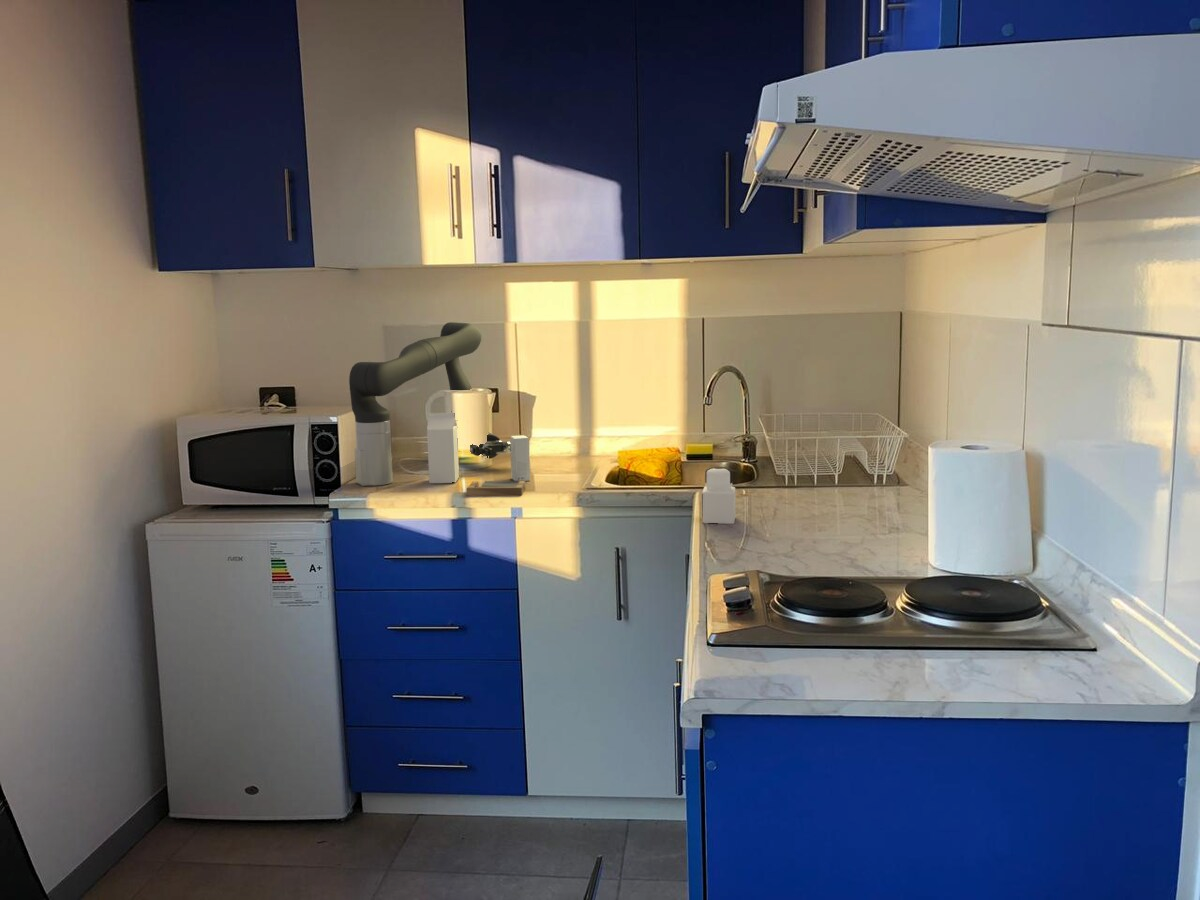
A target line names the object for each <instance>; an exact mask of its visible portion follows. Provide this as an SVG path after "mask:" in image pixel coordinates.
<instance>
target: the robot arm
mask: <svg viewBox="0 0 1200 900" xmlns="http://www.w3.org/2000/svg"><path fill="white" fill-rule="evenodd" d="M481 342H482V333H481V331H480V328H478V327H477V325H474V324H473V323H467V322H455V321H452V322H447V323H445V324H443V326H442V328H441V331H440V335H439V336H435V337H427V338H423V339H420V340H417V341H414V342H412V343H410V344H408V345H406V346H405V347H404V348H402V349H401V351H400V353H399V355H398V357H397V358H394V359H391V360H388V361H383V362H382V361H380V362H379V361H359V362H356V363H354V365H353V366H352V367H351V369H350V372H349V379H348V380H349V381H348V382H349V392H350V393H349V395H350V401H351V402H350V403H351V409H352V412H353V415H354V421H355V441H356V443H355V444H356V448H354V458H355V459H354V461H355V479H356V480H355V481H356V483H357V484H358V485H360V486H361V487H363V486H366V487H367V486H383V485H387V484H391V483H393V476H394V474H393V461H392V456H393V455H392V439H391V438H392V437H391V421H390V419H391V418H390V417H391V416H390V415H391V414H390V411H389V409H388V408H386V407H384V406H382V405H381V404H380V403H379V402H378V401H377V398H376V397H383V396H386V395H388V394H390V393H391V392H393V391H395V390H396V389H398V388H399V387H400V386H402V385H403V384H404V383H405V384H406V382H409V381H411V380H413V379H416V378H417V377H420V376H421V375H424V374H426V373H429V372H430V371H433V370H434V369H436V368H438V367H441V366H443V365H444V366H445V371H446V374H447V379H448V385H449V391H450V390H470V389H472V390H473V388H472V386H471V384H470V382H469V380H468V378H467V376H466V374H465V372H464V371H463V368H462V366H461V362H460V357H464V356H466V355H470V354H473V353H474V352H476V351H477V350H478V348H479V347H480V345H481ZM488 433H489V434H488V435H487V442H486V443H485V444H480V445H479V447H478V446H477V445H473V444H472V445H470V452H471V453H470V452H469V453H470V454H472V455H474V456H476V457H480V456H479V455H480V454H482V455H483V456H487V458H488V456H489V459H488V460H490V459H494V458H495V457H497V456H498V455H500V454H503V455H504V454H505V455H506V454H507V455H508V454H511V441H502V440H501V439H500V438H499V436H498V435H496V434H495V433H491V432H488Z"/></svg>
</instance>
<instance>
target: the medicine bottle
mask: <svg viewBox="0 0 1200 900" xmlns="http://www.w3.org/2000/svg"><path fill="white" fill-rule="evenodd" d="M704 472H705V473H704V475H705V476H704V478H705V479H704V480H705V481H704V483H705V485H704V486H703V490H702V491H701V523H702V522H704V523H703V524H708V523H718V525H719V524H721V525H734V524H735V521H736V487H735V486H733V470H732V469H731V468H729V467H726V466H712V467H709V468H707V469H706V470H705V471H704Z"/></svg>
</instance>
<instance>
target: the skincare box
mask: <svg viewBox="0 0 1200 900" xmlns="http://www.w3.org/2000/svg"><path fill="white" fill-rule="evenodd" d="M509 438H510V441H511V452H510V471H511V472H510V473H511V474H510V476H511V477H510V478H511V479H512V481H525V482H526V481H527V482H528V481H531V465H530V464H531V462H530V459H531V458H530V437H528V436H526V435H511V436H510V437H509ZM510 441H509V442H510Z"/></svg>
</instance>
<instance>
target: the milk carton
mask: <svg viewBox="0 0 1200 900" xmlns="http://www.w3.org/2000/svg"><path fill="white" fill-rule="evenodd" d="M457 428H458V424H457V420H455V413H452V412H429V413H428V421H427V426H426V436H427V439H426V441H427V456H428V457H427V458H428V460H427V464H428V482H429V484H453V483H452V482H455V483H456V482H457V481H458V480H459V479H460V470H459V469H460V468H459V464H460V463H459V451H458V438H457ZM458 478H459V479H458Z"/></svg>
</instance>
